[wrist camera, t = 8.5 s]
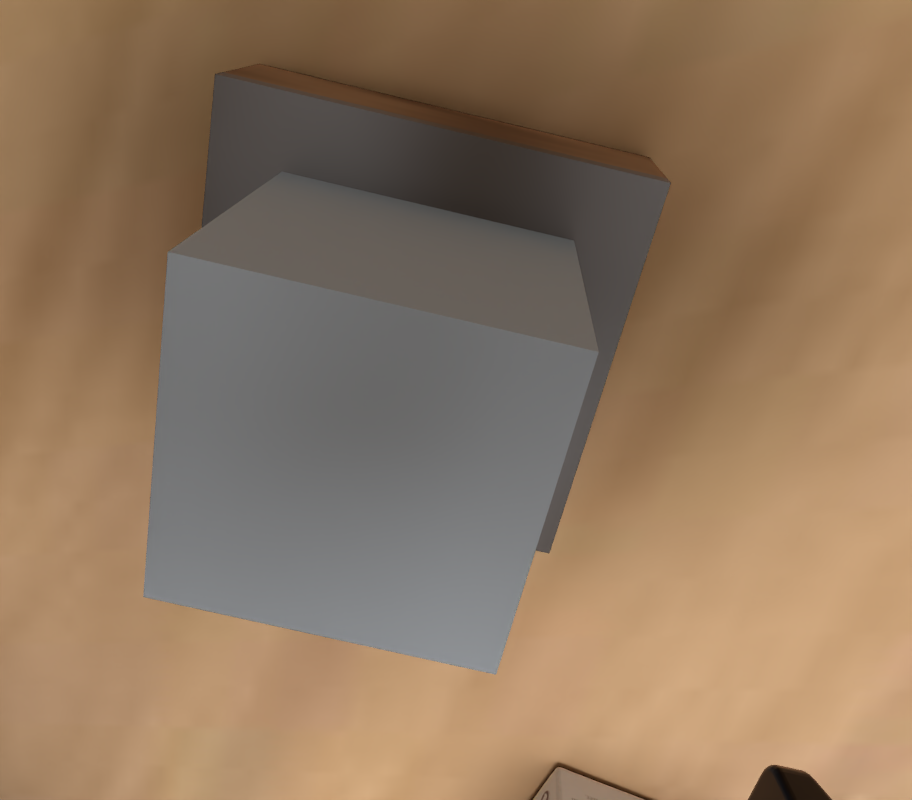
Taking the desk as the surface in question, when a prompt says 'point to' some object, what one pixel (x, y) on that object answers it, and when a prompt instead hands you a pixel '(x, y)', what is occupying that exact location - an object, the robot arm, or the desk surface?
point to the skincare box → (578, 788)
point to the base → (448, 186)
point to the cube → (363, 417)
